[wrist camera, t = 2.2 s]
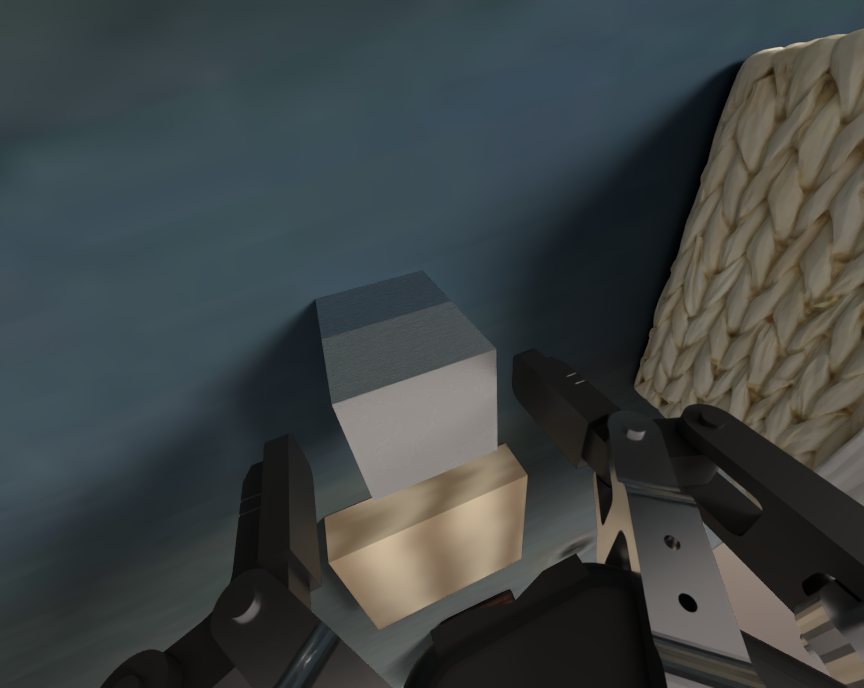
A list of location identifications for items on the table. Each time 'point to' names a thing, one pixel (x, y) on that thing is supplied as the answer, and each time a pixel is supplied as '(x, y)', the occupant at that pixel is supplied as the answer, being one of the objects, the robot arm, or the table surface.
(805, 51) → the storage basket
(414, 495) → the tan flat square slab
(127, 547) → the table surface
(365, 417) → the gray block
